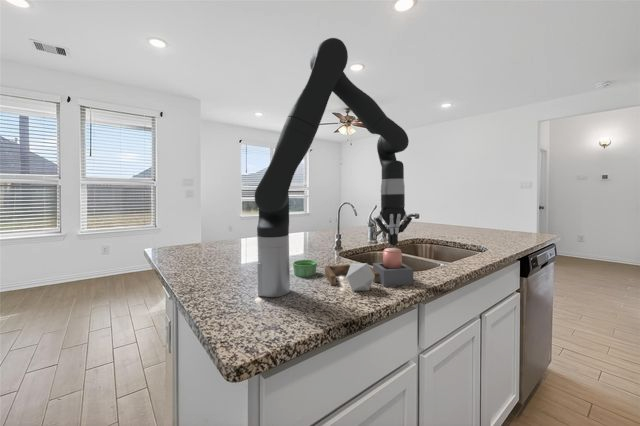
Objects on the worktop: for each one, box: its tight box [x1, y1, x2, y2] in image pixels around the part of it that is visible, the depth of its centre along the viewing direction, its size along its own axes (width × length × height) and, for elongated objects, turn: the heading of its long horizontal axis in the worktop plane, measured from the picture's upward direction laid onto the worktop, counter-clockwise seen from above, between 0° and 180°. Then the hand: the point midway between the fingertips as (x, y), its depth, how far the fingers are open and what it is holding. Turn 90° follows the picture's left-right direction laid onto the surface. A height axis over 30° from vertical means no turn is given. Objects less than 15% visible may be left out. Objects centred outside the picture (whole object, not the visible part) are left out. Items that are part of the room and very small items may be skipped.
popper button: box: [382, 247, 403, 268], centre depth 93 cm, size 6×6×6 cm
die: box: [345, 262, 375, 292], centre depth 85 cm, size 8×9×10 cm
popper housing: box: [372, 262, 414, 287], centre depth 93 cm, size 10×10×5 cm
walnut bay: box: [324, 264, 380, 286], centre depth 97 cm, size 16×14×3 cm
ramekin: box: [292, 259, 318, 278], centre depth 103 cm, size 9×9×4 cm
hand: (392, 245), depth 93 cm, fingers closed
